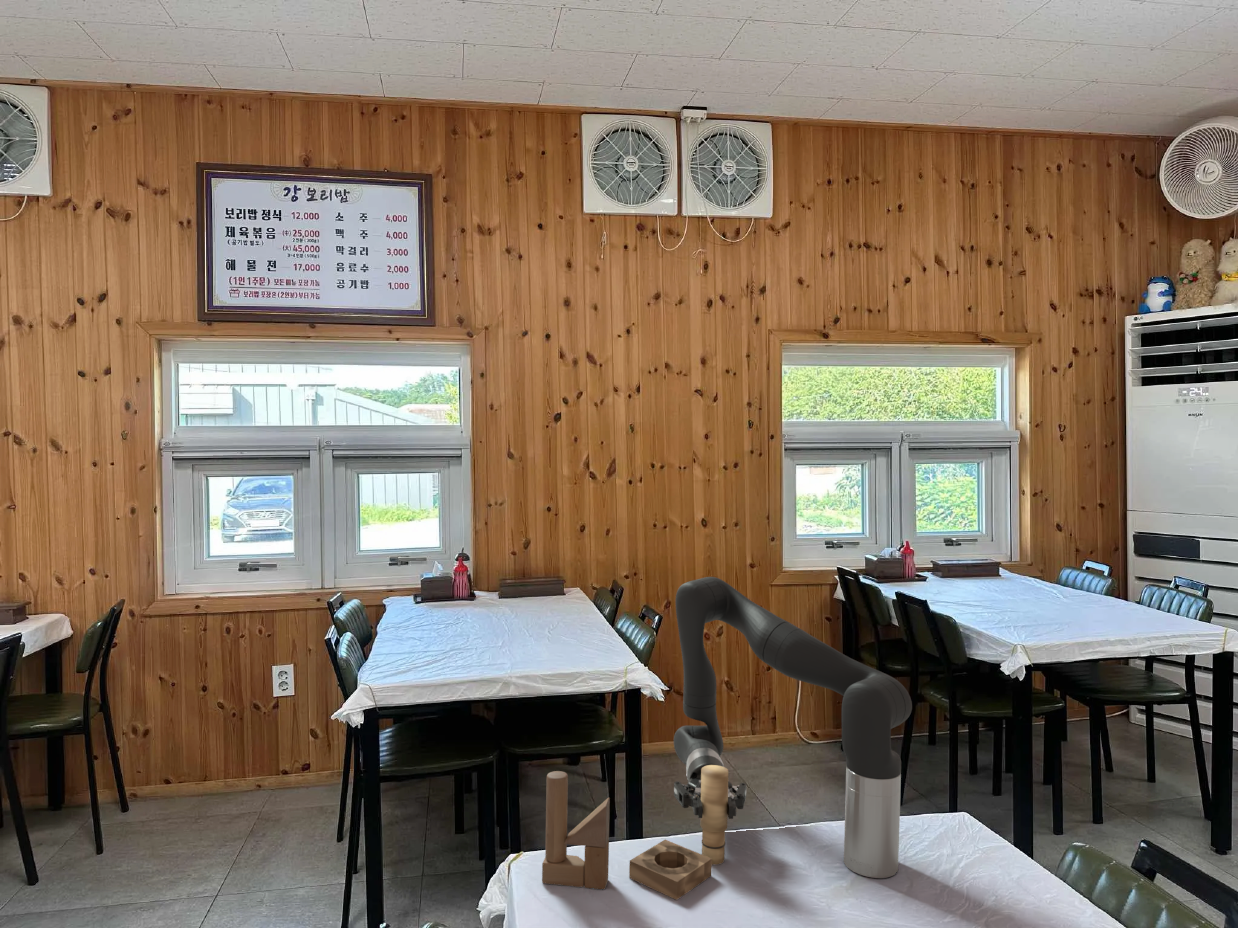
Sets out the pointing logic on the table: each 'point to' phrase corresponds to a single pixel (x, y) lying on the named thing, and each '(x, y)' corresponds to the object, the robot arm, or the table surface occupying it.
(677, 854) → the square wooden ring
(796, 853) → the table surface
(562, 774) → the wooden block
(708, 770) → the oak leg
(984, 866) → the table surface
